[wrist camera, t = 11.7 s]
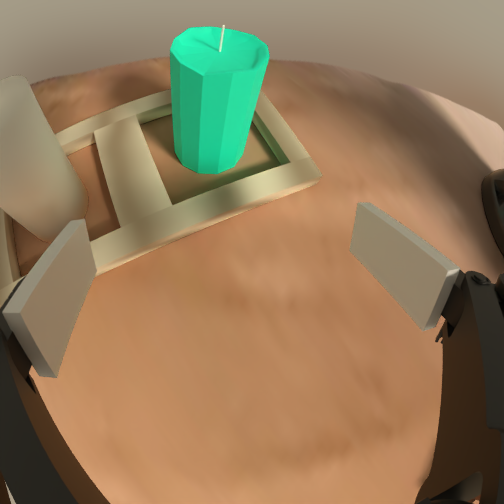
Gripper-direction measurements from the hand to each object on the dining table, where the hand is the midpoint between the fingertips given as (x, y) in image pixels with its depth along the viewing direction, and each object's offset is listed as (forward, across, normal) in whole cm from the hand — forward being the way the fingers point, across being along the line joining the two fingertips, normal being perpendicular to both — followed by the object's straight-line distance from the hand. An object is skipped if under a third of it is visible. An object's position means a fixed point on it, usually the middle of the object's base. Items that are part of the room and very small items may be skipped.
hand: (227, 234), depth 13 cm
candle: (+14, 0, +2) cm, 14 cm away
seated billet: (+10, -13, -1) cm, 16 cm away
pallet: (+12, -7, +1) cm, 13 cm away
